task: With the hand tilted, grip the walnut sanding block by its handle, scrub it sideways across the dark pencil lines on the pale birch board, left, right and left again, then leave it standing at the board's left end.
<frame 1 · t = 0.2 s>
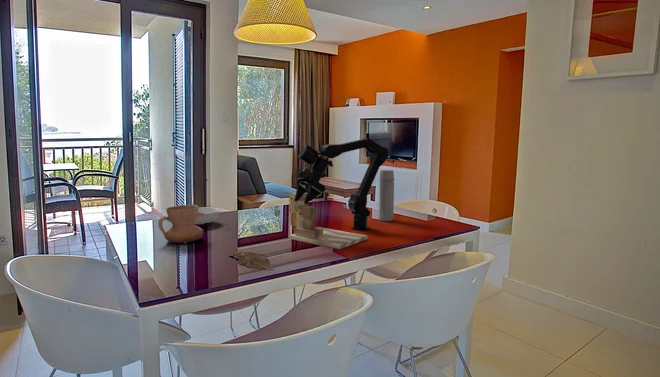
hand: (300, 202, 180), 14 cm above the table, tool tilted 35°, fingers open, 9 cm apart
ceramic jug: (182, 241, 173), on the table
birch board: (328, 238, 176), on the table
sanding block: (309, 235, 176), point 2 cm above the table, touching birch board
water bottle: (385, 220, 212), on the table
candy box: (297, 226, 200), on the table
wooden fragment: (253, 262, 147), on the table
serving bowl: (196, 225, 204), on the table
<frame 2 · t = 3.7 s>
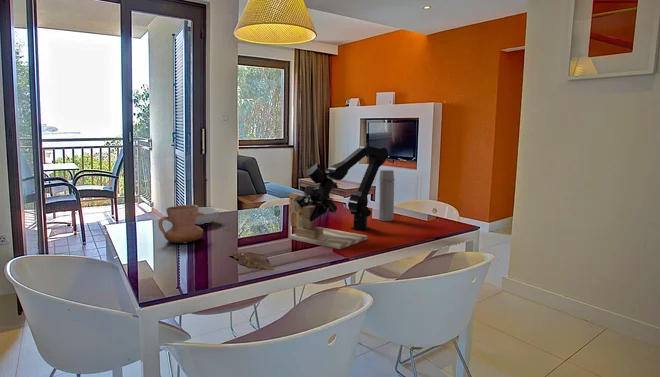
hand: (306, 220, 174), 8 cm above the table, tool tilted 45°, fingers closed on sanding block, 3 cm apart
sanding block: (309, 235, 176), point 2 cm above the table, touching birch board, gripper
everything else where it was.
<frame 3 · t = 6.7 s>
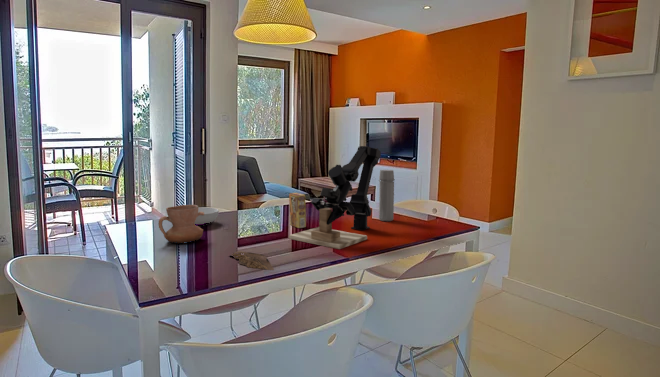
hand: (323, 223, 168), 8 cm above the table, tool tilted 45°, fingers closed on sanding block, 3 cm apart
sanding block: (325, 238, 170), point 2 cm above the table, touching gripper
everything else where it was.
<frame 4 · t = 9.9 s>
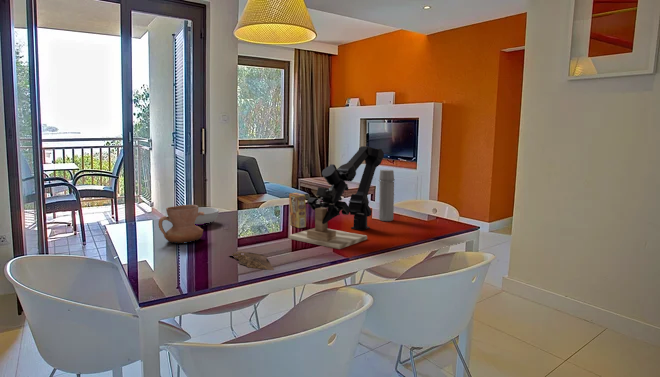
hand: (319, 222, 170), 8 cm above the table, tool tilted 45°, fingers closed on sanding block, 3 cm apart
sanding block: (321, 237, 172), point 2 cm above the table, touching gripper
everything else where it was.
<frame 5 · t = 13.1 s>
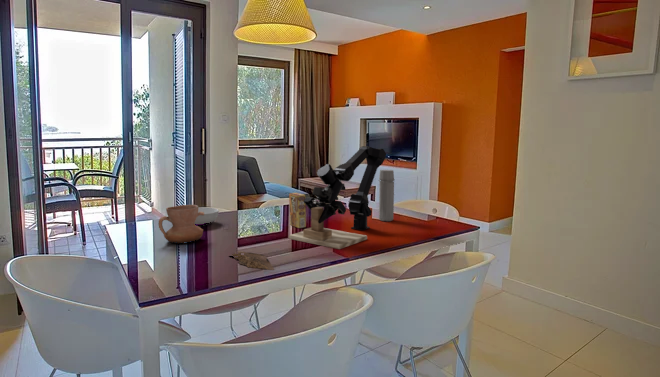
hand: (315, 222, 171), 8 cm above the table, tool tilted 45°, fingers closed on sanding block, 3 cm apart
sanding block: (317, 237, 173), point 2 cm above the table, touching gripper
everything else where it was.
when the fingers open (8 cm above the table, at t = 16.2 s): sanding block stays where it is, resting on birch board.
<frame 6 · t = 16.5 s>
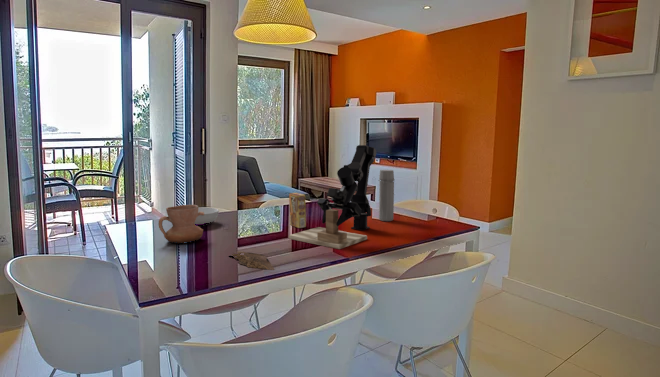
hand: (329, 224, 166), 8 cm above the table, tool tilted 45°, fingers open, 7 cm apart
sanding block: (332, 240, 168), point 2 cm above the table, touching birch board
everything else where it was.
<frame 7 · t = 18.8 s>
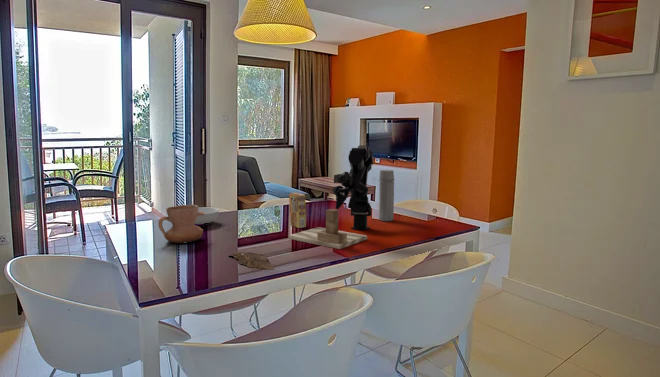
hand: (342, 208, 173), 13 cm above the table, tool tilted 35°, fingers open, 9 cm apart
nothing on the table moved.
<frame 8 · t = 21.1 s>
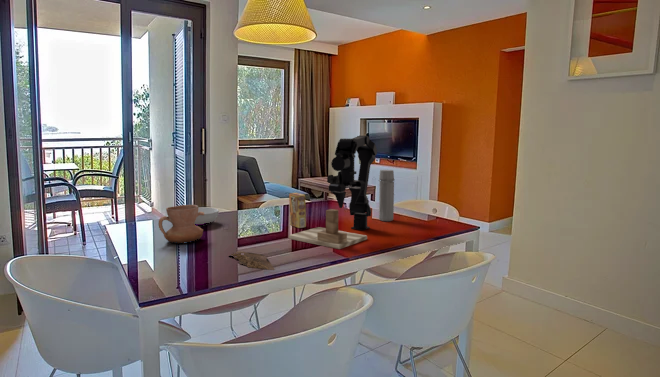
hand: (347, 206, 178), 13 cm above the table, tool pointing down, fingers open, 9 cm apart
nothing on the table moved.
at the end: sanding block inside the target area (0.0 cm from its centre), point 1.5 cm above the table; sanding block tilted 0°; the gripper is holding nothing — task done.
